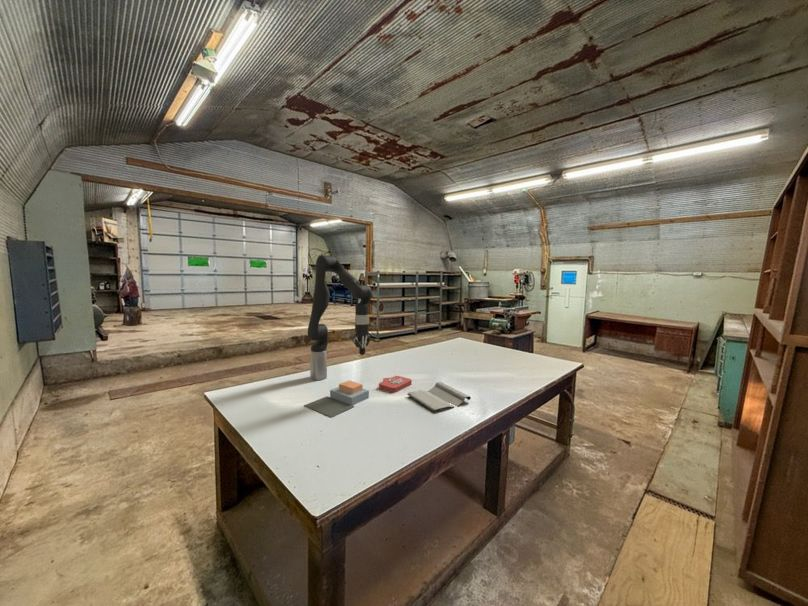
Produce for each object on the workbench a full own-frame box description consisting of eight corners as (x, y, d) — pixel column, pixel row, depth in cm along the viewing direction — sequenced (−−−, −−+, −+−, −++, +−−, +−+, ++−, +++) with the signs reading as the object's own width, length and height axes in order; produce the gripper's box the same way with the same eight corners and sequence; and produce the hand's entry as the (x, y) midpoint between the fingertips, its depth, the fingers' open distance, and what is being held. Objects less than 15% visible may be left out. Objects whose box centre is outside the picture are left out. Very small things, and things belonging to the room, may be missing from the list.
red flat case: (392, 373, 193) (413, 378, 184) (392, 379, 194) (412, 384, 185) (373, 381, 179) (394, 387, 170) (373, 387, 179) (394, 394, 170)
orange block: (339, 389, 164) (339, 383, 164) (349, 385, 170) (349, 380, 170) (352, 394, 158) (352, 388, 158) (362, 390, 164) (362, 384, 164)
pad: (304, 405, 153) (304, 405, 153) (326, 396, 164) (326, 396, 164) (331, 417, 141) (331, 416, 141) (354, 407, 153) (354, 406, 152)
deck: (330, 397, 164) (330, 390, 163) (347, 390, 173) (347, 383, 173) (351, 405, 154) (351, 397, 154) (368, 397, 164) (368, 390, 163)
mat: (406, 397, 166) (407, 389, 165) (441, 389, 179) (441, 381, 178) (434, 414, 147) (434, 405, 146) (470, 403, 159) (471, 394, 159)
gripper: (365, 320, 175) (365, 351, 177) (348, 323, 164) (348, 356, 166) (375, 321, 171) (375, 353, 172) (358, 325, 160) (358, 358, 162)
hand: (362, 354), depth 169 cm, fingers closed
